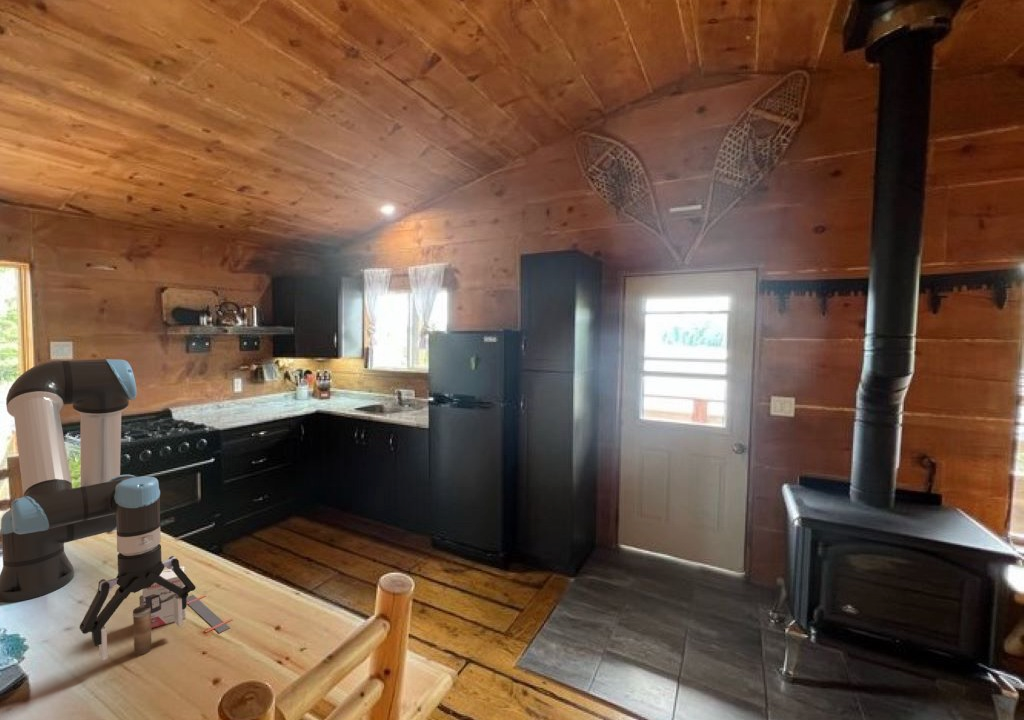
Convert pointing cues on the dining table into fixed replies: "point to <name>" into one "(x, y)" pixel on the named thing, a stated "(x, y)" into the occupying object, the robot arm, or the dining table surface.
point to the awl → (142, 628)
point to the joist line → (207, 614)
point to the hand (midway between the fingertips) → (142, 639)
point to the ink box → (162, 599)
